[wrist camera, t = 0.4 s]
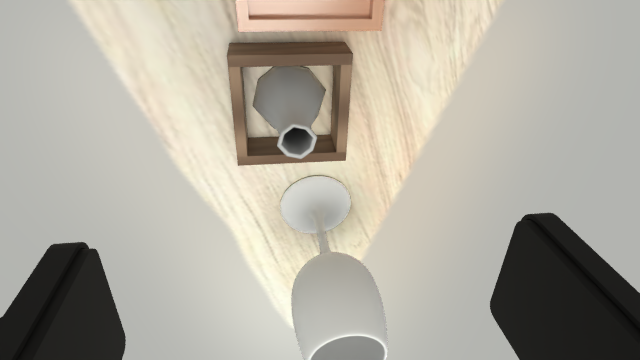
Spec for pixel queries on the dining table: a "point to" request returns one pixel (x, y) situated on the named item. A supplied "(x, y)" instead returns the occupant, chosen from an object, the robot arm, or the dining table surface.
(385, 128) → the dining table surface
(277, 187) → the dining table surface
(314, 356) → the wineglass
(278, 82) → the flask
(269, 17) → the terracotta tray
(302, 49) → the frame
